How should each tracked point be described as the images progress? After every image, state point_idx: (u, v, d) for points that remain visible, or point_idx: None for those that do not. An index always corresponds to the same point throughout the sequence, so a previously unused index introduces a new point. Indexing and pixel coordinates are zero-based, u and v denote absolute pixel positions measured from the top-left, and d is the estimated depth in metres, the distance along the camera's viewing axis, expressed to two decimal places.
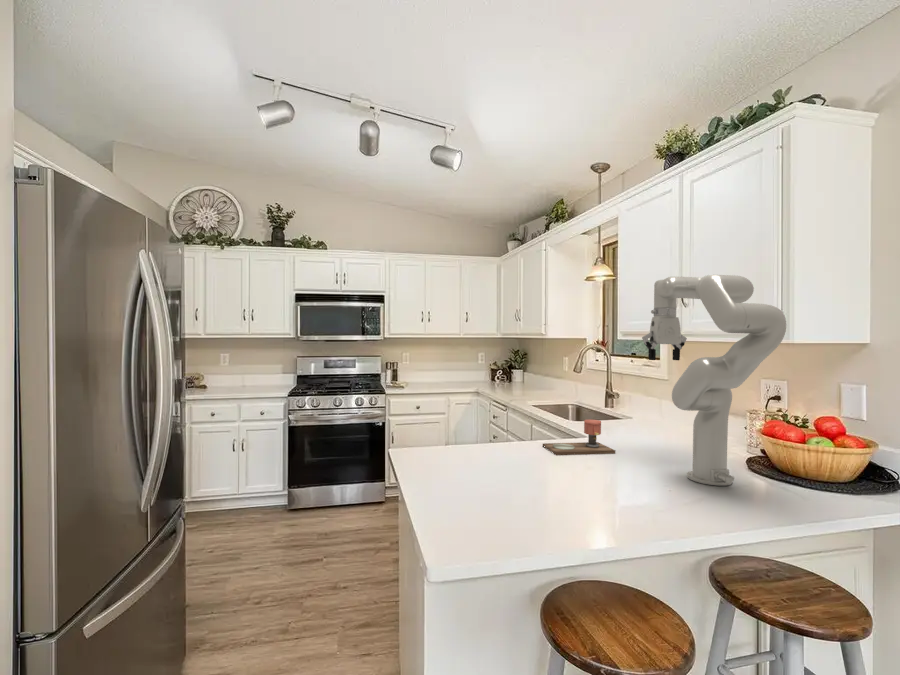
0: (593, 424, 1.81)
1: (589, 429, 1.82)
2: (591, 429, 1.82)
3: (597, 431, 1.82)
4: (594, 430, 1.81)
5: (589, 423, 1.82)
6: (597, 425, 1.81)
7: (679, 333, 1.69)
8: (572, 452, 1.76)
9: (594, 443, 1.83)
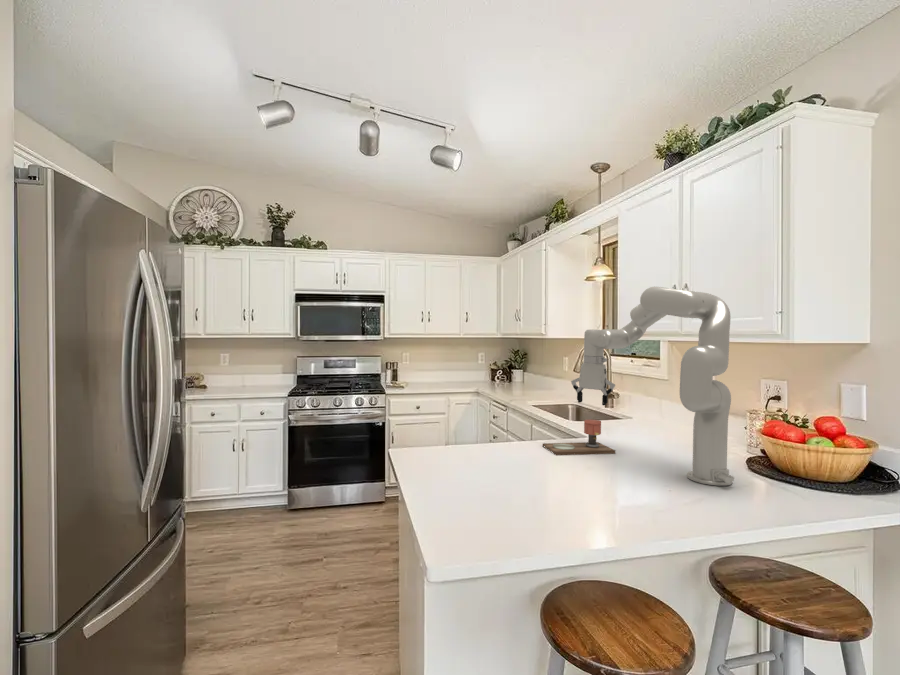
0: (593, 424, 1.81)
1: (589, 429, 1.82)
2: (591, 429, 1.82)
3: (597, 431, 1.82)
4: (594, 430, 1.81)
5: (589, 423, 1.82)
6: (597, 425, 1.81)
7: None
8: (572, 452, 1.76)
9: (594, 443, 1.83)
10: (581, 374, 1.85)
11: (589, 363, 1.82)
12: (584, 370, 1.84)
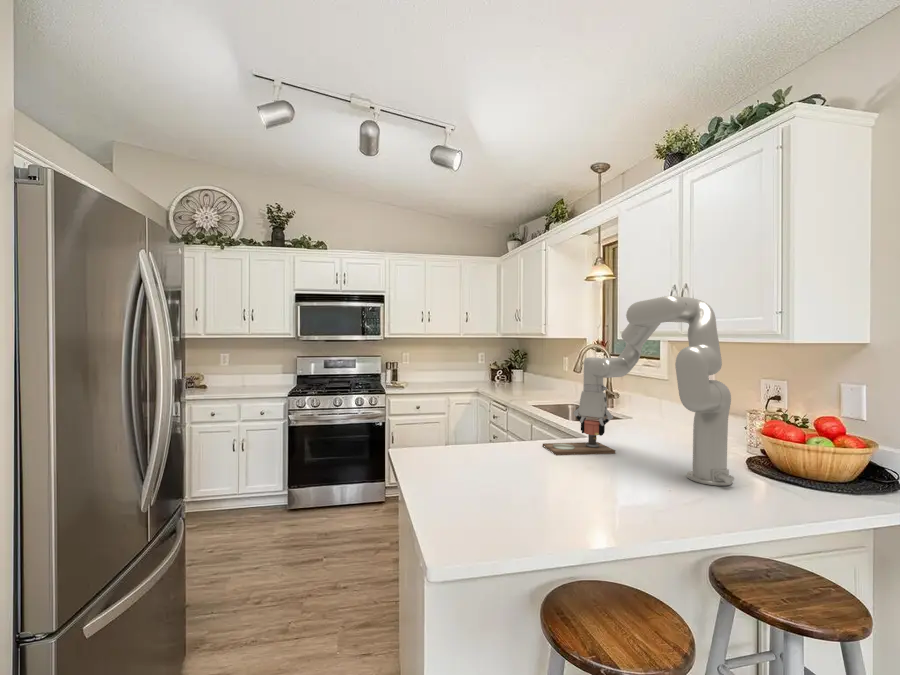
0: (593, 424, 1.81)
1: (589, 429, 1.82)
2: (591, 429, 1.82)
3: (597, 431, 1.82)
4: (594, 430, 1.81)
5: (589, 423, 1.82)
6: (597, 425, 1.81)
7: None
8: (572, 452, 1.76)
9: (594, 443, 1.83)
10: (581, 402, 1.85)
11: (589, 391, 1.82)
12: (583, 398, 1.84)
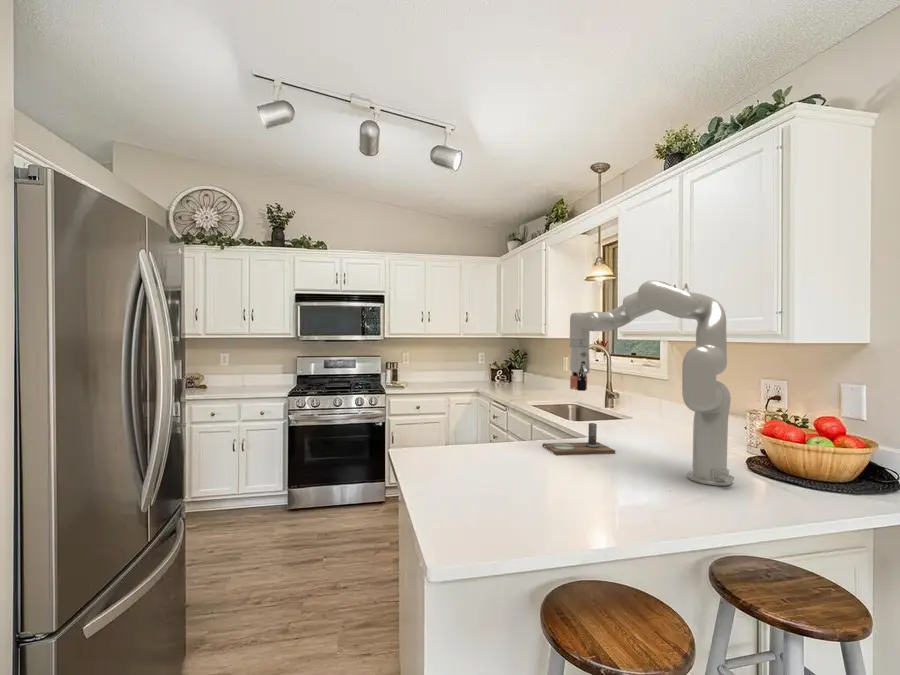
0: (572, 378, 1.82)
1: (570, 383, 1.83)
2: (571, 383, 1.83)
3: (576, 386, 1.81)
4: (573, 384, 1.82)
5: (570, 377, 1.83)
6: (576, 380, 1.81)
7: None
8: (572, 452, 1.76)
9: (594, 443, 1.83)
10: None
11: None
12: (571, 353, 1.86)
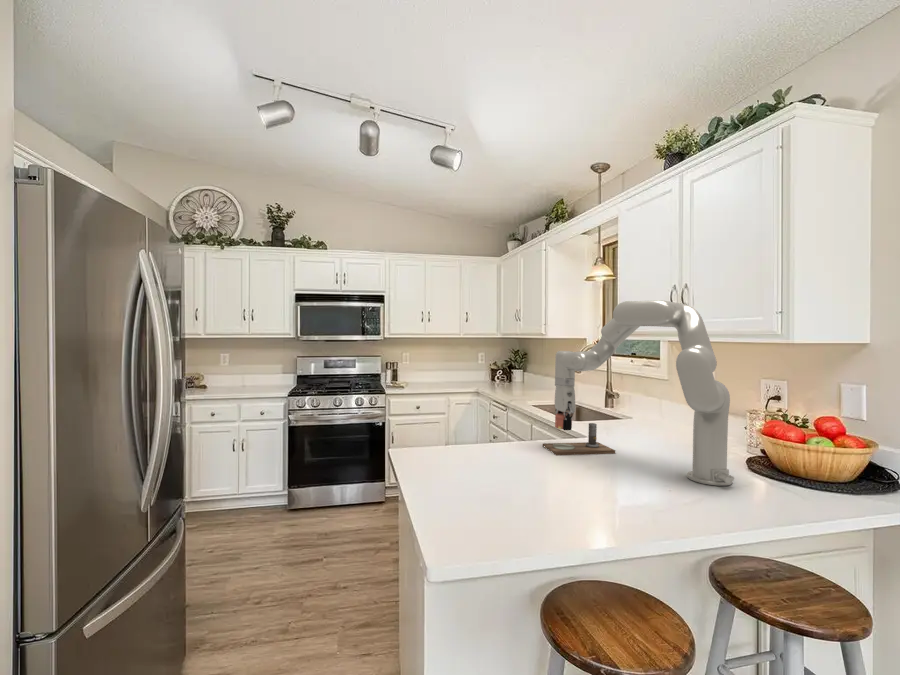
0: (558, 417, 1.81)
1: (556, 422, 1.82)
2: (556, 422, 1.81)
3: (561, 425, 1.80)
4: (558, 423, 1.81)
5: (555, 416, 1.82)
6: (561, 419, 1.80)
7: None
8: (572, 452, 1.76)
9: (594, 443, 1.83)
10: (555, 395, 1.86)
11: (555, 384, 1.82)
12: (555, 391, 1.85)
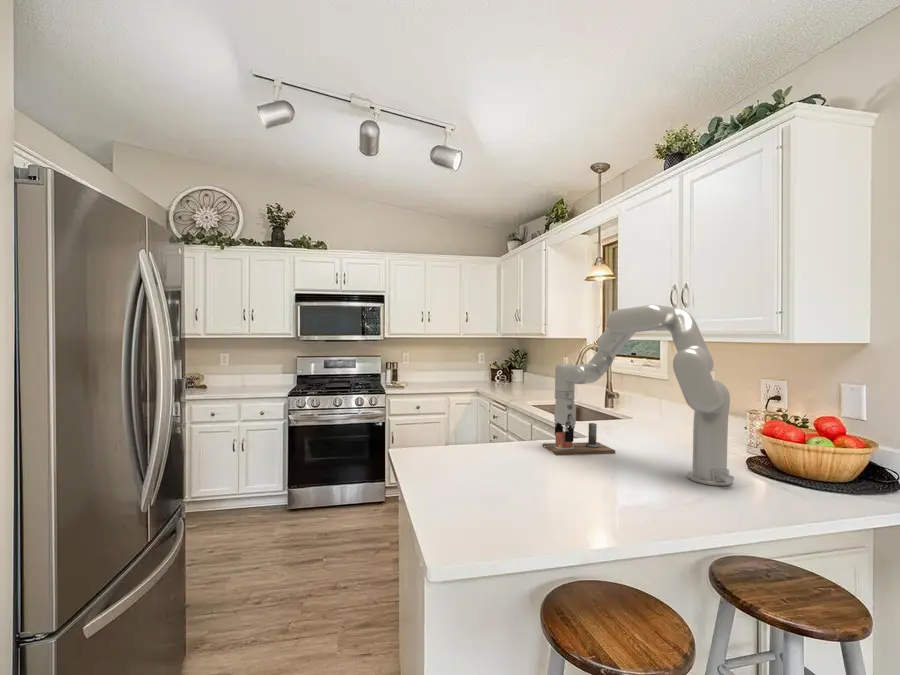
0: (558, 436, 1.81)
1: (556, 441, 1.82)
2: (557, 441, 1.81)
3: (562, 444, 1.80)
4: (559, 442, 1.80)
5: (556, 435, 1.82)
6: (562, 438, 1.80)
7: None
8: (572, 452, 1.76)
9: (594, 443, 1.83)
10: (555, 408, 1.86)
11: (555, 397, 1.82)
12: (555, 404, 1.85)
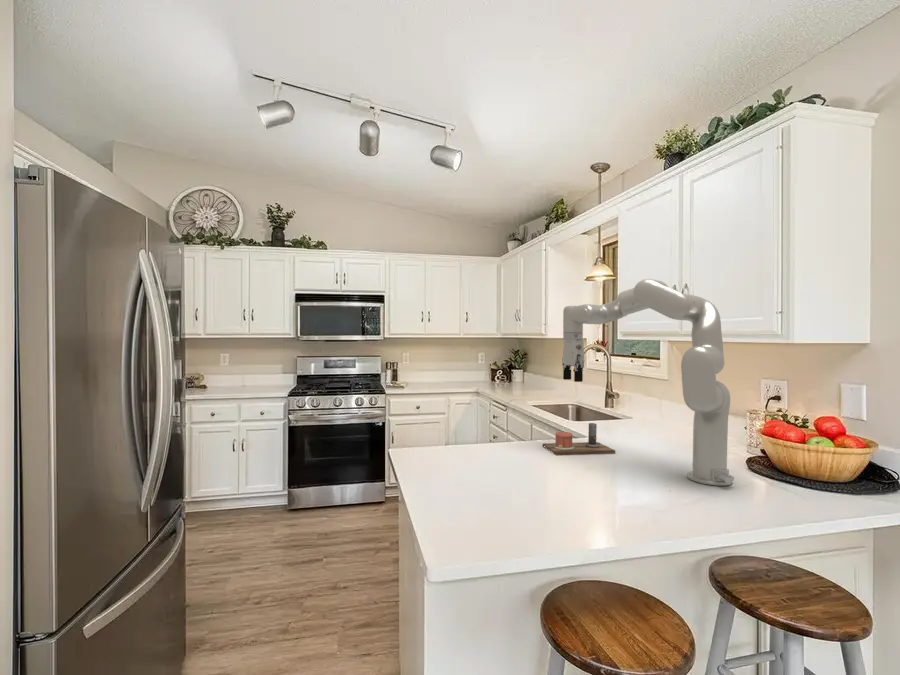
0: (558, 436, 1.81)
1: (556, 441, 1.82)
2: (557, 441, 1.81)
3: (562, 444, 1.80)
4: (559, 442, 1.80)
5: (556, 435, 1.82)
6: (562, 438, 1.80)
7: None
8: (572, 452, 1.76)
9: (594, 443, 1.83)
10: (563, 351, 1.87)
11: (563, 339, 1.83)
12: (564, 346, 1.86)
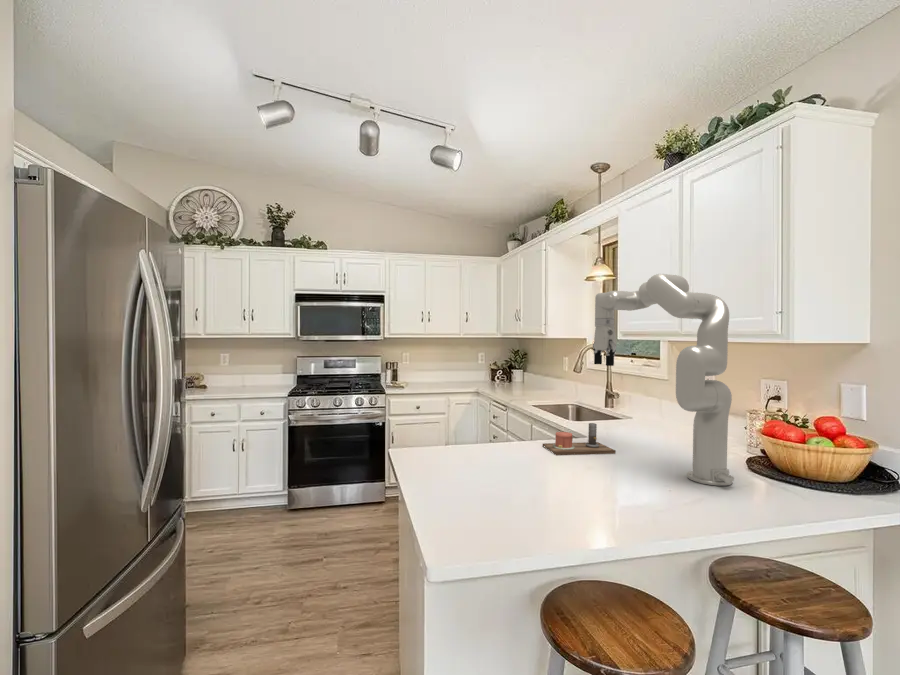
0: (558, 436, 1.81)
1: (556, 441, 1.82)
2: (557, 441, 1.81)
3: (562, 444, 1.80)
4: (559, 442, 1.80)
5: (556, 435, 1.82)
6: (562, 438, 1.80)
7: None
8: (572, 452, 1.76)
9: (594, 443, 1.83)
10: None
11: (595, 325, 1.90)
12: (595, 332, 1.93)
